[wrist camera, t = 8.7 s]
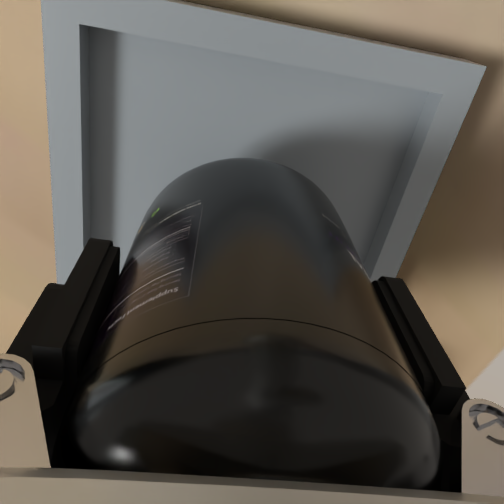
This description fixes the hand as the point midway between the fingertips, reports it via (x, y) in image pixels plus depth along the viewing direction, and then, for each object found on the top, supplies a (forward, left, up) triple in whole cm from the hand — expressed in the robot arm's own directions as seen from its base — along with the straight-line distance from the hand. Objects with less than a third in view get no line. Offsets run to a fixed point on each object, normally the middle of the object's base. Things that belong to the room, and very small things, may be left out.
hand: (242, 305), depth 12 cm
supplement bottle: (0, 0, -3) cm, 3 cm away
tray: (0, 0, -6) cm, 6 cm away
